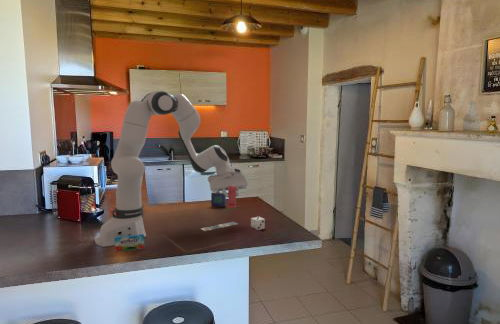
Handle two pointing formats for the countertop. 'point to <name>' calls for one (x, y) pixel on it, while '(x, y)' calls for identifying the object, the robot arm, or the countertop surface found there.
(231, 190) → the pawn
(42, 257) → the countertop surface
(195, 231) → the countertop surface
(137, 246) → the colorful food package
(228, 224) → the game strip
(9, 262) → the countertop surface
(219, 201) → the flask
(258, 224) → the die
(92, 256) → the countertop surface
